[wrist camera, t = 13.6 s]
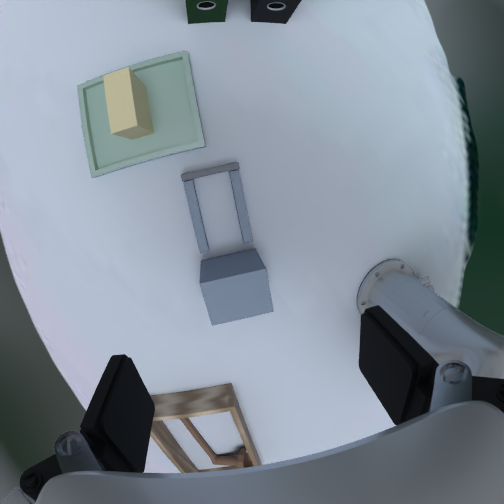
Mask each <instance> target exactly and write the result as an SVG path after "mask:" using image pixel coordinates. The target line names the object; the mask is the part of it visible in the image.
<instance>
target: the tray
mask: <svg viewBox="0 0 504 504" xmlns="http://www.w3.org/2000/svg"><path fill="white" fill-rule="evenodd" d="M128 67H129V68H130V69H131V70H132V71H133V72H134V74H135V75H136V76H137V77H138V78H139V79H140V81H141V82H142V83H143V84H144V85H145V86H146V92H147V98H148V104H149V110H150V116H151V122H152V127H153V134H150V135H146V136H143V137H139V138H136V139H129V138H125V137H121V136H118V135H114V134H111V130H110V124H109V117H108V111H107V103H106V96H105V87H104V78H103V76H105V75H107V74H110V73H113V72H116V71H119V70H122V69H124V68H128ZM128 67H124V68H122V69H119V70H116V71H113V72H110V73H107V74H105V75H102V76H99V77H97V78H94V79H92V80H89V81H87V82H85V83H82V84H80V85H78V86H77V87H78V97H79V106H80V114H81V122H82V129H83V135H84V141H85V147H86V152H87V158H88V163H89V168H90V173H91V177H92V178H94V177H98V176H101V175H104V174H107V173H110V172H113V171H116V170H119V169H123V168H126V167H129V166H132V165H136V164H139V163H143V162H146V161H150V160H153V159H157V158H161V157H164V156H168V155H172V154H176V153H180V152H184V151H189V150H193V149H197V148H202V147H205V143H204V138H203V133H202V128H201V123H200V117H199V112H198V107H197V102H196V96H195V91H194V85H193V80H192V74H191V69H190V63H189V57H188V52H187V51H183V52H178V53H174V54H170V55H166V56H162V57H158V58H154V59H151V60H147V61H144V62H140V63H137V64H134V65H131V66H128Z"/></svg>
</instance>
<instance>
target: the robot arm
mask: <svg viewBox="0 0 504 504" xmlns="http://www.w3.org/2000/svg"><path fill="white" fill-rule="evenodd" d="M429 283H430V279H429V277H424V278H422V279H418V278H417V277H415V276H414V273H413V271H412V269H411V268H410V266H409V265H407V264H406V263H404V262H402V261H400V260H388V261H385V262H383V263H381V264H379V265H377V266H376V267H375V268H374V269H373V270H372V271H371V272H370V273H369V274H368V275H367V276H366V278H365V279H364V281H363V283H362V285H361V287H360V290H359V293H358V299H357V305H358V310H359V312H360V314H361V330H360V352H359V368H360V370H361V372H362V374H363V375H364V377H365V378H366V380H367V382H368V383H369V385H370V386H371V388H372V389H373V391H374V392H375V394H376V396H377V397H378V399H379V400H380V402H381V403H382V405H383V407H384V408H385V410H386V411H387V413H388V415H389V416H390V418H391V419H392V421H393V423H394V424H395V425H397V426H395V427H392V428H390V429H387V430H385V431H382V432H379V433H377V434H374V435H371V436H369V437H366V438H363V439H361V440H358V441H355V442H352V443H349V444H346V445H343V446H340V447H336V448H333V449H330V450H326V451H323V452H319V453H315V454H312V455H308V456H304V457H299V458H295V459H291V460H286V461H281V462H276V463H271V464H266V465H260V466H253V467H247V468H239V469H231V470H222V471H211V472H196V473H143V472H144V469H145V463H146V457H147V451H148V445H149V439H150V434H151V428H152V423H153V418H154V413H155V405H154V402H153V400H152V398H151V396H150V394H149V393H148V391H147V389H146V387H145V385H144V383H143V381H142V379H141V377H140V375H139V373H138V371H137V369H136V367H135V365H134V363H133V361H132V359H131V358H130V357H127V356H126V355H125V354H123V355H113V356H112V357H111V358H110V360H109V362H108V364H107V367H106V369H105V371H104V373H103V375H102V377H101V379H100V382H99V384H98V386H97V388H96V391H95V393H94V395H93V397H92V400H91V402H90V404H89V407H88V409H87V411H86V414H85V416H84V419H83V421H82V423H81V426H80V427H81V430H80V433H79V432H78V431H68V432H65V433H63V434H61V435H60V436H59V437H58V438H57V439H56V441H55V443H54V452H55V454H54V455H52V456H51V457H49V458H47V459H45V460H44V461H42V462H40V463H38V464H36V465H34V466H33V467H31V468H29V469H27V470H26V471H25V472H24V473H23V474H22V476H21V478H20V487H21V488H20V489H19V488H18V487H16V488H15V489H14V490H13V491H12V492H11V493H9V495H7V497H5V498H4V499H3V500H2V501H1V502H0V504H504V337H503V336H502V335H499V334H497V333H495V332H493V331H491V330H489V329H488V328H486V327H484V326H482V325H481V324H479V323H477V322H476V321H474V320H473V319H471V318H470V317H468V316H467V315H465V314H464V313H463V312H461V311H460V310H458V309H457V308H456V307H454V306H453V305H451V304H450V303H449V302H447V301H446V300H444V299H443V298H441V297H440V296H439V295H437V294H436V293H434V289H433V287H432V286H431V285H429V286H427V287H425V286H424V285H426V284H429Z"/></svg>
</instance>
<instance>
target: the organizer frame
mask: <svg viewBox="0 0 504 504" xmlns="http://www.w3.org/2000/svg"><path fill="white" fill-rule="evenodd" d="M151 398H152V400H153V402H154V405H155V413H154V418H153V423H152V428H151V434H150V436H151V437H152V438H153V440H154V441H155V442H156V443H157V445H158V446H159V447H160V448H161V450H162V451H163V452H164V453H165V454H166V456H167V457H168V458H169V459H170V460H171V462H172V463H173V464H174V465H175V466H176V467H177V468H178V470H179V471H180V472H181V473H196V472H211V471H222V470H231V469H238V468H237V466H229V467H222V468H215V469H206V470H198V469H197V468H196V467H195V465H194V464H193V463H192V462H191V460H190V459H189V458H188V456H187V455H186V454H185V452H184V451H183V450H182V448H181V447H180V446H179V444H178V443H177V441H176V440H175V439H174V437H173V436H172V434H171V433H170V431H169V430H168V429H167V427H166V426H165V424H164V423H163V421H162V420H171V419H180V418H188V417H195V416H202V415H209V414H215V413H221V412H227V411H230V412H231V414H232V417H233V419H234V422H235V424H236V426H237V429H238V431H239V433H240V436H241V438H242V440H243V443H244V445H245V447H246V450H247V452H248V454H249V456H250V458H251V461H252V463H253V466H260V465H261V462H260V459H259V457H258V454H257V452H256V449H255V447H254V444H253V442H252V439H251V436H250V434H249V431H248V428H247V426H246V423H245V420H244V418H243V415H242V412H241V410H240V407H239V404H238V401H237V398H236V396H235V393H234V390H233V387H232V384H231V383H230V384H225V385H220V386H214V387H209V388H203V389H197V390H191V391H184V392H177V393H170V394H162V395H153V396H151Z"/></svg>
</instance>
